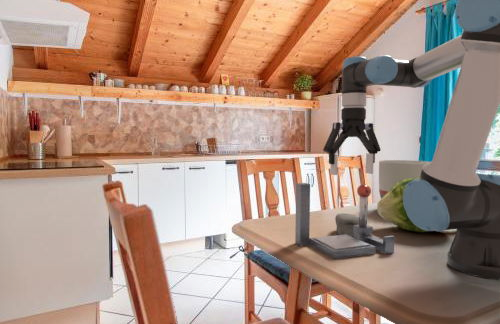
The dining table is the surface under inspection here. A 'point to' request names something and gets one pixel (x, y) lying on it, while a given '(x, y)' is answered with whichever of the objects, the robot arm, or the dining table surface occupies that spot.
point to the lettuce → (397, 207)
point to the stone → (346, 223)
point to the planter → (397, 173)
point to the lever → (363, 211)
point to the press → (340, 243)
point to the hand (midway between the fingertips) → (351, 174)
